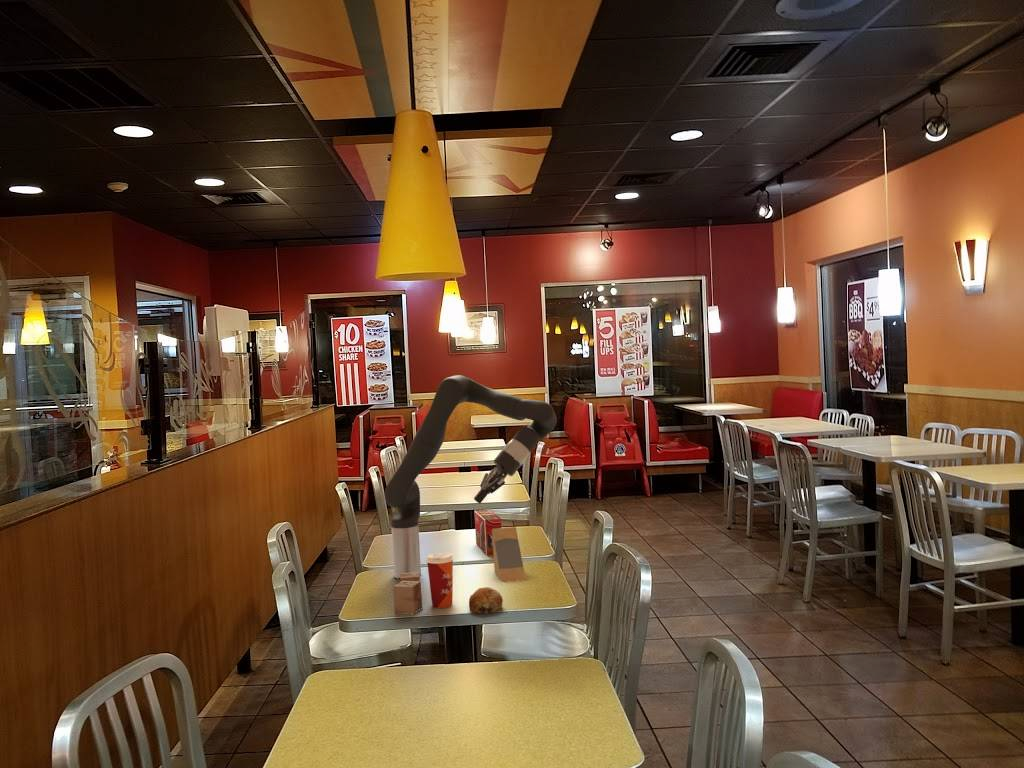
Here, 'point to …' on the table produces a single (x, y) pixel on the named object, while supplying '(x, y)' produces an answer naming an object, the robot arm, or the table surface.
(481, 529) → the ice cream box
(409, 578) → the two-dot block
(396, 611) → the three-dot block
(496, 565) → the sandwich container
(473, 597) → the bread roll
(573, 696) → the table surface
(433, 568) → the coffee cup
